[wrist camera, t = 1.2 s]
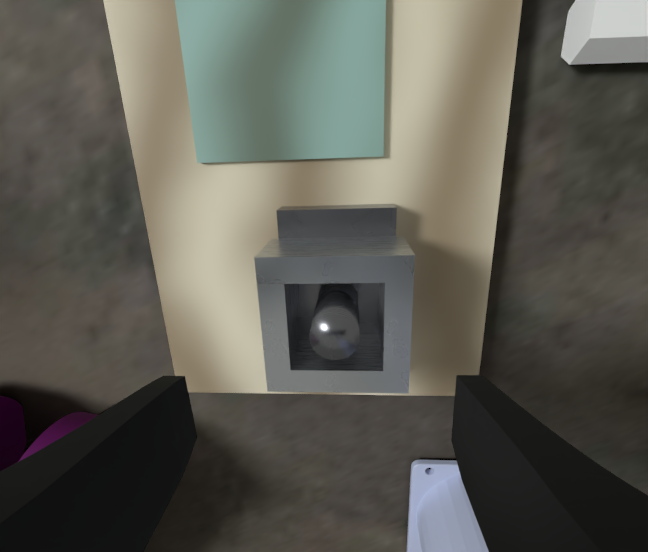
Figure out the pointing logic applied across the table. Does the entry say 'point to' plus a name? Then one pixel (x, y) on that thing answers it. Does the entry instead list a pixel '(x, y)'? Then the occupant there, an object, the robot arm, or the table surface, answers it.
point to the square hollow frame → (336, 267)
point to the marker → (606, 32)
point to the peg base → (337, 298)
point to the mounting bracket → (10, 436)
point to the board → (315, 157)
